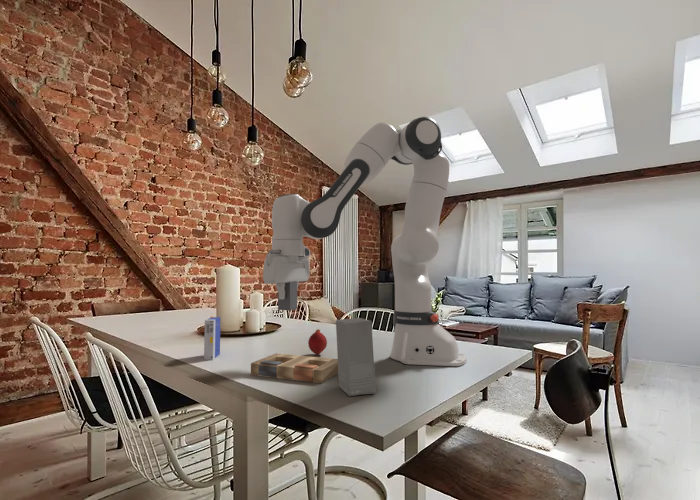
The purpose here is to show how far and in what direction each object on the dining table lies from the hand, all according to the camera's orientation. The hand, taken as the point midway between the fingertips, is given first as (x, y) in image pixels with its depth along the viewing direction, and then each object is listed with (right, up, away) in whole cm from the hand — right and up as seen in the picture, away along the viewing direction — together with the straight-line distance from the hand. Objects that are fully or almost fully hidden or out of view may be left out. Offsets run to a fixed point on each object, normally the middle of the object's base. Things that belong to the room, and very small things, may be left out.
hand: (287, 298), depth 112 cm
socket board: (+4, -18, -10) cm, 21 cm away
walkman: (-24, -19, +8) cm, 32 cm away
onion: (+8, -19, +11) cm, 23 cm away
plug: (0, -3, 0) cm, 3 cm away
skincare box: (+19, -18, -25) cm, 36 cm away
